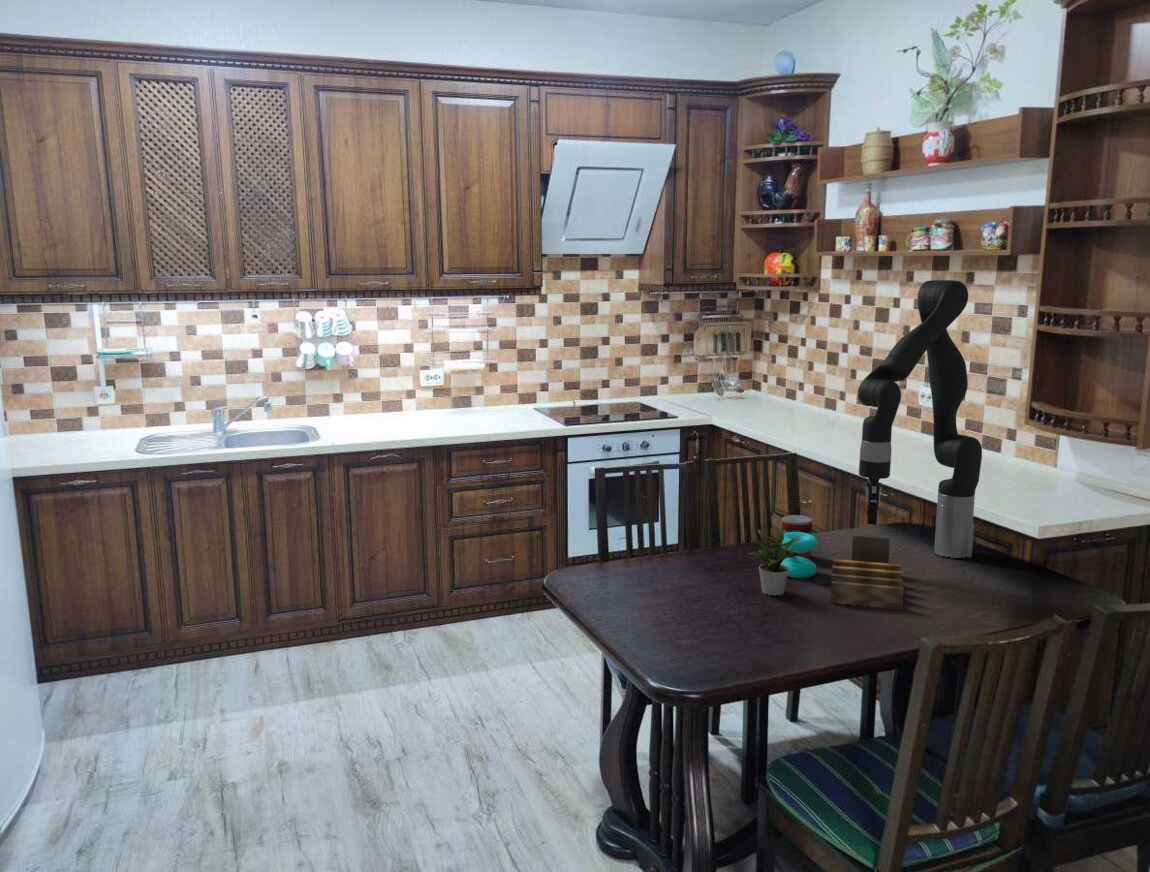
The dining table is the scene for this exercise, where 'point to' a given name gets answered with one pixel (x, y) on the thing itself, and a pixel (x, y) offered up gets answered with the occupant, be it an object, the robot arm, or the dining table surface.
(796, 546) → the turquoise curved double lobe
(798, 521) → the canned food
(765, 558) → the house plant
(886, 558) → the metal panel
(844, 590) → the slotted rack
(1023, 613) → the dining table surface
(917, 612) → the dining table surface
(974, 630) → the dining table surface
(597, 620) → the dining table surface
